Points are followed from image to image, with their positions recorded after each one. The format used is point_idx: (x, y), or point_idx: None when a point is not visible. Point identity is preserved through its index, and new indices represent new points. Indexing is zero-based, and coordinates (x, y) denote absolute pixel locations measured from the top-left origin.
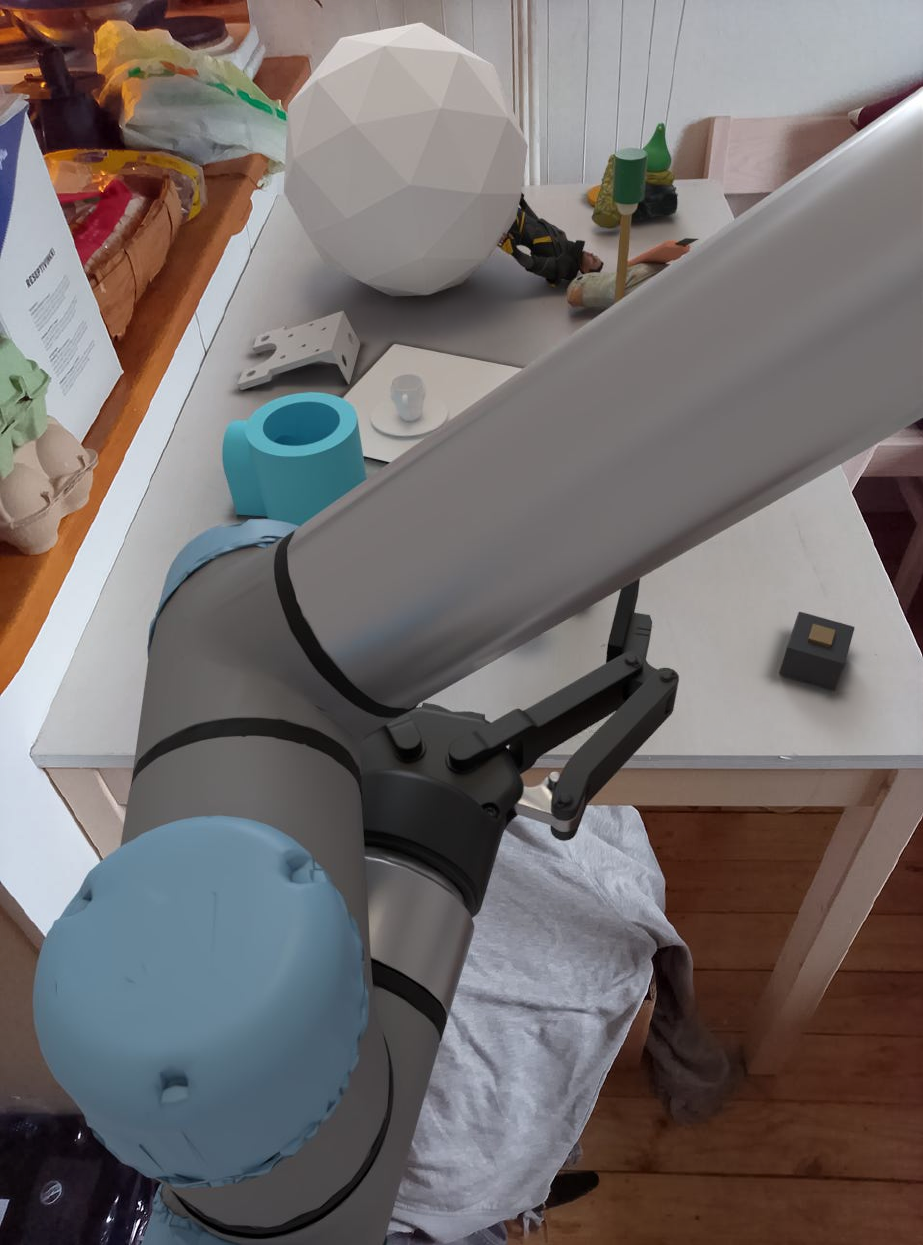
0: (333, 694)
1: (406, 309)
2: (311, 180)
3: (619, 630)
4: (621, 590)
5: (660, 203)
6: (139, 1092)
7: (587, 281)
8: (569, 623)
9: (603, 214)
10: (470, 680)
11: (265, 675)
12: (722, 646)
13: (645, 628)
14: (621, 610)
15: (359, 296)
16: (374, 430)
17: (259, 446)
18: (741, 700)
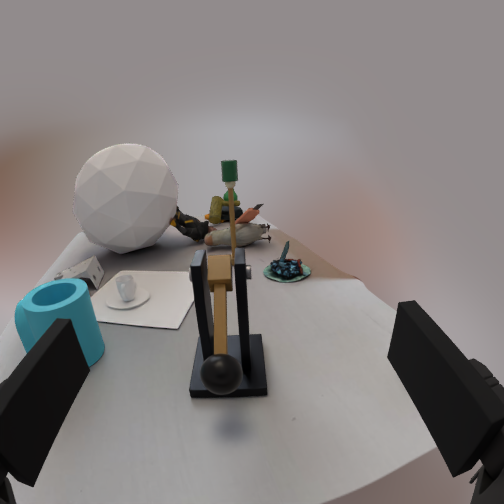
0: None
1: (127, 258)
2: (81, 198)
3: (484, 392)
4: (430, 338)
5: (236, 213)
6: None
7: (213, 233)
8: (261, 409)
9: (213, 217)
10: (195, 471)
11: None
12: (372, 393)
13: (486, 376)
14: (457, 363)
15: (106, 256)
16: (108, 308)
17: (26, 307)
18: (404, 422)
